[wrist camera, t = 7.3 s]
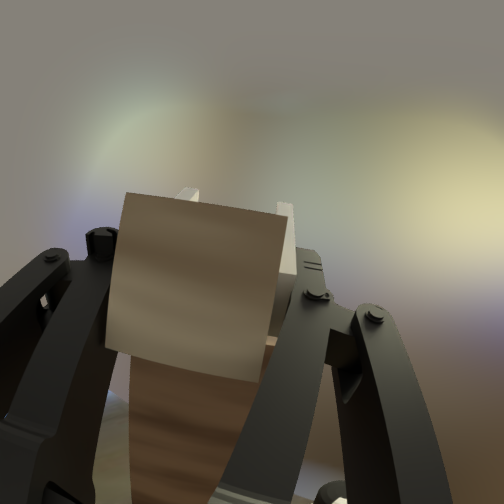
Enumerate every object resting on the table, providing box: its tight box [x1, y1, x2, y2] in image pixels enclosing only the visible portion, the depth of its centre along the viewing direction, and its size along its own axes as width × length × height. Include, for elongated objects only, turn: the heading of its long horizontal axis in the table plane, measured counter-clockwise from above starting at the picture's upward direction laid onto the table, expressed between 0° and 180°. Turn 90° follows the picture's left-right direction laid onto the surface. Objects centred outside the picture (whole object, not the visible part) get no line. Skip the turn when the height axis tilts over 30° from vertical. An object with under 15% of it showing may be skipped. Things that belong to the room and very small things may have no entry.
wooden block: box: [105, 192, 288, 383], centre depth 20 cm, size 26×4×4 cm, turn 179°
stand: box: [129, 336, 278, 504], centre depth 26 cm, size 18×10×30 cm, turn 179°
